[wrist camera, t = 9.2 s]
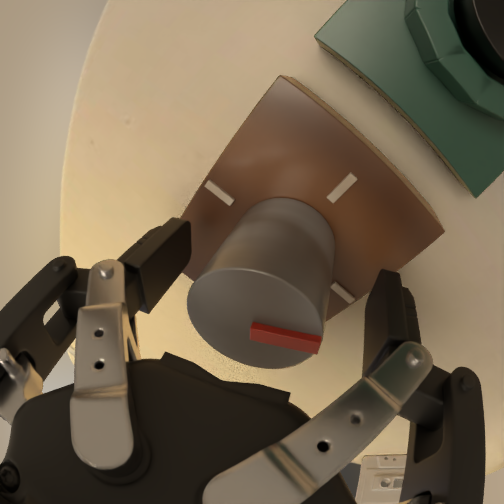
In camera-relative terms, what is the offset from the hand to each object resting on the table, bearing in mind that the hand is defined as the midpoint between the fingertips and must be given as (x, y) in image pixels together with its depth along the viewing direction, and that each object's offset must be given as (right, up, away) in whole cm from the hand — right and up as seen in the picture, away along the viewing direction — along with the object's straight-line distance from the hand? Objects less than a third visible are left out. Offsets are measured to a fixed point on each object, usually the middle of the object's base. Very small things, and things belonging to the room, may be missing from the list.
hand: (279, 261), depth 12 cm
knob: (0, +1, +1) cm, 1 cm away
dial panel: (+1, +2, +3) cm, 4 cm away
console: (+8, +10, -5) cm, 14 cm away
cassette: (+19, -26, +15) cm, 36 cm away
